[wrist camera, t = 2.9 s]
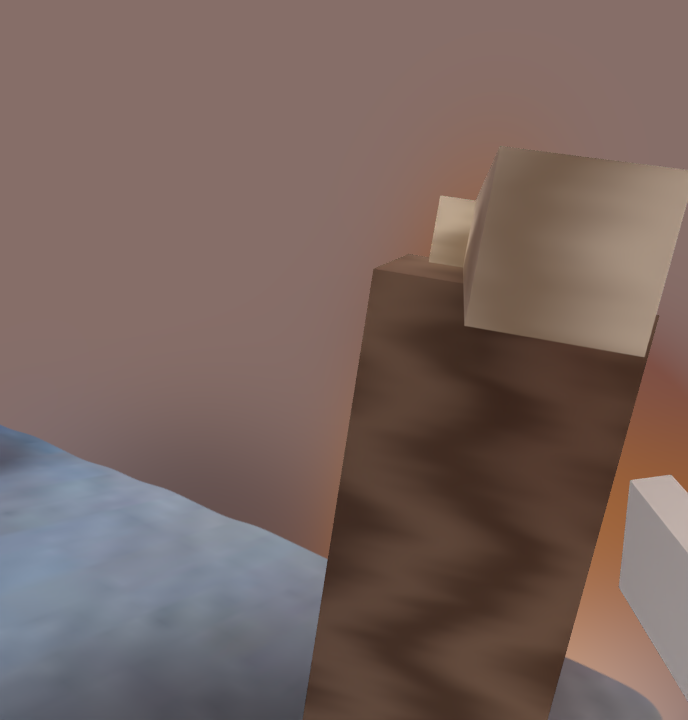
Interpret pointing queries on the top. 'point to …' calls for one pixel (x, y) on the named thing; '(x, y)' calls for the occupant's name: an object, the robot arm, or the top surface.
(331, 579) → the walnut stand
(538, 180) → the birch bar
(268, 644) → the top surface
